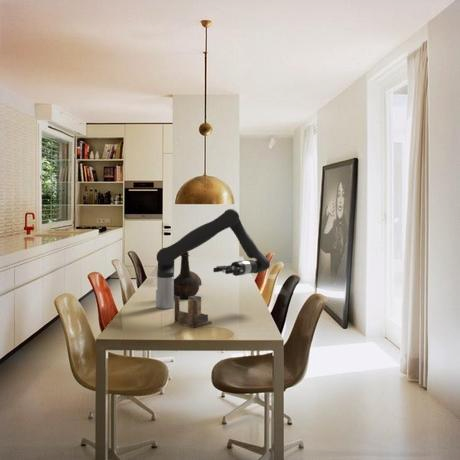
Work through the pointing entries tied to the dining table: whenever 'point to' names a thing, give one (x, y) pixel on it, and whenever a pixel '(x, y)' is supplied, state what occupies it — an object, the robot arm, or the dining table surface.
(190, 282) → the glass bottle
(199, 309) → the brown wooden block
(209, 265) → the dining table surface
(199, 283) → the decorative dome
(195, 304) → the board
